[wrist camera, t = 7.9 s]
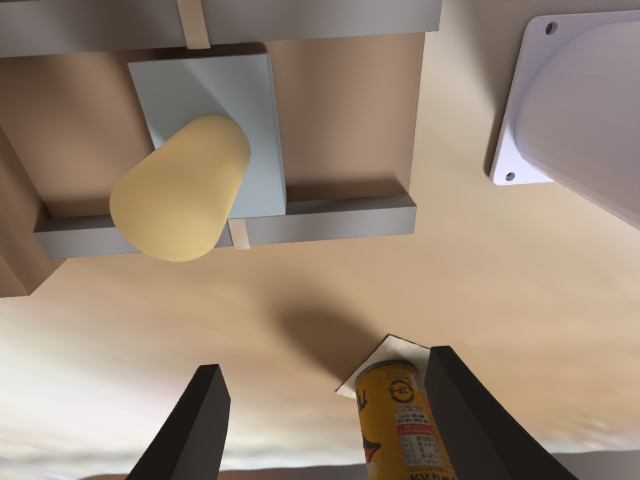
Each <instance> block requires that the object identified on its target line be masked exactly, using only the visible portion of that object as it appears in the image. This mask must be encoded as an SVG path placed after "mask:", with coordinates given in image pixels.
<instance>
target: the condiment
mask: <svg viewBox="0 0 640 480" xmlns="http://www.w3.org/2000/svg"><path fill="white" fill-rule="evenodd" d="M429 355H430V350H429V349H426V348H424V347H421V346H420V345H416V344H412V343H409V342H407V341H405V340H402V339H398V338H395V337H393V336H390V335H389V337H388V338H387V339H386V340H385V341H384V342H383V343H382V344H381V345H380V346H379V347H378V348H377V350H376V351H375V352H374V353H373V354H372V355H371V356H370V357H369V358H368V359H367V360H366V361H365V362H364V363H363V364H362V365H361V366H360V367H359V368H358V369H357V370H356V371H355V372H354V373H353V374H352V375H351V376H350V378H349V379H348V380H347V381H346V382H345V383H344V384H343V385H342V386H341V387H340V388H339V390H338V391H337V393H336V394H339V395H342V396H345V397H350V398H355V399H357V405H358V412H359V417H360V425H361V432H362V436H363V447H364V450H365V458H366V463H367V470H368V476H369V480H457V477H456V475H455V472H454V469H453V467H452V464H451V462H450V459H449V457H448V454H447V452H446V449H445V446H444V444H443V441H442V439H441V436H440V434H439V431H438V428H437V426H436V423H435V421H434V418H433V415H432V412H431V408H430V405H429V401H428V398H427V394H426V390H425V386H424V380H425V375H426V370H427V365H428V360H429ZM395 356H398V357H395ZM390 358H392V359H390Z"/></svg>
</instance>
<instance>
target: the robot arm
mask: <svg viewBox="0 0 640 480" xmlns="http://www.w3.org/2000/svg"><path fill="white" fill-rule="evenodd" d="M550 22H551V24H552V29H551V31H550V32H549V33H548V34H546V28H547V25H548V24H549V23H550ZM508 173H511V175H510V177H508V178H506V175H507V174H508ZM490 181H491V182H492V183H494V184H495V185H511V184H526V183H541V182H557V183H559V184H561V185H563V186H564V187H566V188H568V189H569V190H571V191H573V192H575V193H576V194H578V195H580V196H581V197H583V198H585V199H587V200H588V201H590V202H592V203H593V204H595V205H597V206H599V207H600V208H602V209H604V210H605V211H607V212H609V213H611V214H612V215H614V216H616V217H617V218H619V219H621V220H623V221H624V222H626V223H628V224H629V225H631V226H633V227H635V228H636V229H638V230H640V10H631V11H614V12H597V13H581V14H564V15H547V16H538V17H535V18H533V19H532V20H531V21H530V22H529V23H528V24H527V27H526V29H525V32H524V37H523V41H522V45H521V49H520V53H519V57H518V61H517V65H516V69H515V74H514V78H513V82H512V86H511V90H510V94H509V98H508V102H507V107H506V111H505V115H504V119H503V123H502V127H501V131H500V135H499V139H498V144H497V148H496V152H495V156H494V160H493V164H492V168H491V172H490ZM424 386H425V390H426V394H427V398H428V401H429V405H430V408H431V412H432V415H433V418H434V421H435V423H436V426H437V428H438V431H439V434H440V436H441V439H442V441H443V444H444V446H445V449H446V452H447V454H448V457H449V459H450V462H451V464H452V467H453V469H454V472H455V475H456V477H457V480H579V479H577V478H576V477H575V476H574V475H573V474H572V473H571V472H569V471H568V470H567V469H566V468H565V467H564V466H562V464H561V463H559V462H558V461H557V460H556V459H555V458H554V457H553V456H552V455H551V454H550V453H549V452H547V451H546V450H545V449H544V448H543V447H542V446H541V445H540V444H539V443H538V442H537V441H536V440H535V439H534V438H533V437H532V436H531V435H530V434H529V433H528V432H527V431H526V430H525V429H524V428H523V427H522V426H521V425H520V424H519V423H518V422H517V421H516V420H515V419H514V418H513V417H512V416H511V415H510V414H509V413H508V412H507V411H506V410H505V409H504V407H503V406H502V405H501V404H500V403H499V402H498V401H497V400H496V399H495V398H494V397H493V396H492V395H491V393H490V392H489V391H488V390H487V389H486V388H485V387H484V386H483V384H482V383H481V382H480V381H479V380H478V379H477V378H476V376H475V375H474V374H473V373H472V372H471V371H470V369H469V368H468V367H467V366H466V365H465V363H464V362H463V361H462V360H461V359H460V357H459V356H458V355H457V354H456V353H455V351H454V350H453V349H452V348H451V347H450V346H436V347H431V350H430V355H429V360H428V365H427V370H426V375H425V380H424ZM230 402H231V399H230V396H229V393H228V390H227V387H226V384H225V381H224V378H223V375H222V372H221V369H220V366H219V364H211V365H200V366H199V367H198V369H197V370H196V372H195V374H194V376H193V377H192V379H191V381H190V383H189V384H188V386H187V388H186V389H185V391H184V393H183V394H182V396H181V398H180V399H179V401H178V402H177V404H176V406H175V407H174V409H173V411H172V412H171V414H170V415H169V417H168V418H167V420H166V421H165V423H164V424H163V426H162V427H161V429H160V431H159V432H158V434H157V435H156V437H155V438H154V440H153V441H152V442H151V444H150V445H149V447H148V448H147V450H146V451H145V452H144V454H143V455H142V457H141V458H140V459H139V461H138V462H137V464H136V465H135V467H134V468H133V469H132V471H131V472H130V473H129V475H128V476H127V477H126V479H125V480H217V477H218V473H219V468H220V463H221V459H222V454H223V450H224V445H225V440H226V435H227V429H228V421H229V412H230Z"/></svg>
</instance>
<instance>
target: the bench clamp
mask: <svg viewBox="0 0 640 480" xmlns="http://www.w3.org/2000/svg"><path fill="white" fill-rule="evenodd" d="M441 5H442V0H0V298H2V297H16V296H30V295H31V294H32V293H33V292H34V291H35V290H36V289H37V288H38V287H39V286H40V285H41V284H42V283H43V282H44V281H45V280H46V279H47V278H48V277H49V276H50V275H51V274H52V273H53V272H54V271H55V270H56V269H57V268H58V267H59V266H60V265H61V264H63V263H64V262H65V261H66V260H67V259H68V258H73V257H88V256H102V255H116V254H130V253H143V252H141V251H140V250H138V249H137V248H135V247H134V246H133V245H131V244H130V243H129V242H128V241H127V240H126V239H125V238H124V237H123V236H122V235H121V234H120V232H119V231H118V229H117V228H116V226H115V224H114V222H113V219H112V217H111V213H110V205H109V202H110V196H111V192H112V190H113V188H114V186H115V184H116V183H117V182H118V180H120V179H121V178H122V177H123V176H124V175H125V174H126V173H128V172H129V171H130V170H131V169H133V168H134V167H135V166H136V165H138V164H139V163H140V162H141V161H142V160H144V159H145V158H146V157H147V156H149V155H150V154H151V153H152V152H154V151H155V147H154V144H153V140H152V137H151V134H150V131H149V128H148V125H147V122H146V119H145V116H144V113H143V110H142V107H141V104H140V101H139V97H138V94H137V91H136V88H135V85H134V82H133V79H132V76H131V73H130V70H129V67H128V64H127V63H131V62H137V61H143V60H148V59H164V58H180V57H197V56H213V55H230V54H246V53H263V52H270V56H271V64H272V73H273V82H274V90H275V99H276V108H277V116H278V125H279V134H280V142H281V151H282V160H283V168H284V177H285V186H286V194H287V201H286V213H285V215H277V216H263V217H248V218H234V219H227V220H226V223H225V225H224V228H223V230H222V233H221V235H220V238H219V240H218V242H217V243H216V245H215V246H214V247H213V248H216V247H231V246H234V249H235V250H241V249H250V247H251V246H250V245H259V244H273V243H288V242H302V241H316V240H331V239H345V238H359V237H373V236H388V235H402V234H414V226H415V218H416V209H417V206H416V204H415V203H414V201H413V200H412V198H411V197H410V195H409V184H410V175H411V165H412V156H413V146H414V136H415V127H416V117H417V108H418V98H419V89H420V79H421V70H422V60H423V50H424V41H425V32H431V31H438V30H439V22H440V13H441Z"/></svg>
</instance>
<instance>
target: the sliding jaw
mask: <svg viewBox="0 0 640 480" xmlns="http://www.w3.org/2000/svg"><path fill="white" fill-rule="evenodd" d="M127 64H128V67H129V70H130V73H131V76H132V79H133V82H134V85H135V88H136V91H137V94H138V97H139V101H140V104H141V107H142V110H143V113H144V116H145V119H146V122H147V125H148V128H149V131H150V134H151V137H152V140H153V144H154V147H155V151H154V152H152V153H151V154H150V155H149V156H147V157H146V158H145V159H144V160H142V161H141V162H140V163H139V164H138V165H136V166H135V167H134V168H133V169H131V170H130V171H129V172H128V173H126V174H125V175H124V176H123V177H122V178H121V179H120V180H118V182H117V183H116V184H115V186H114V188H113V190H112V192H111V196H110V202H109V205H110V213H111V217H112V219H113V222H114V224H115V226H116V228H117V229H118V231H119V232H120V234H121V235H122V236H123V237H124V238H125V239H126V240H127V241H128V242H129V243H130V244H131V245H133V246H134V247H135V248H137V249H138V250H140V251H141V252H143V253H145V254H147V255H149V256H152V257H155V258H158V259H161V260H166V261H175V262H177V261H189V260H193V259H196V258H199V257H201V256H203V255H205V254H206V253H208V252H209V251H210V250H211V249H212V248H213V247H214V246H215V245H216V243H217V242H218V240H219V238H220V235H221V233H222V230H223V228H224V225H225V223H226V220H227V219H234V218H248V217H263V216H277V215H285V213H286V201H287V194H286V186H285V177H284V168H283V160H282V151H281V142H280V134H279V125H278V116H277V108H276V99H275V90H274V82H273V73H272V64H271V56H270V52H263V53H246V54H230V55H213V56H197V57H180V58H164V59H148V60H143V61H137V62H131V63H127Z"/></svg>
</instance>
